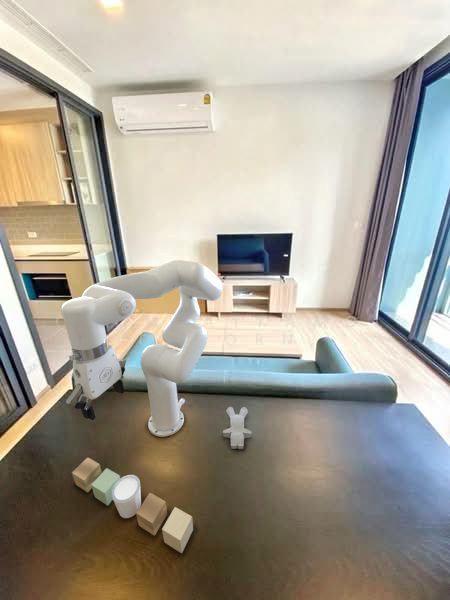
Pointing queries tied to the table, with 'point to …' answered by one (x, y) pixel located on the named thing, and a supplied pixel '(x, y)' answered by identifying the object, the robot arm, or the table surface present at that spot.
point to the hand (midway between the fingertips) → (105, 403)
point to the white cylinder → (127, 495)
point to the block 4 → (177, 529)
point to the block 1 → (86, 474)
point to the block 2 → (105, 486)
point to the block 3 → (151, 513)
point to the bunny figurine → (237, 428)
